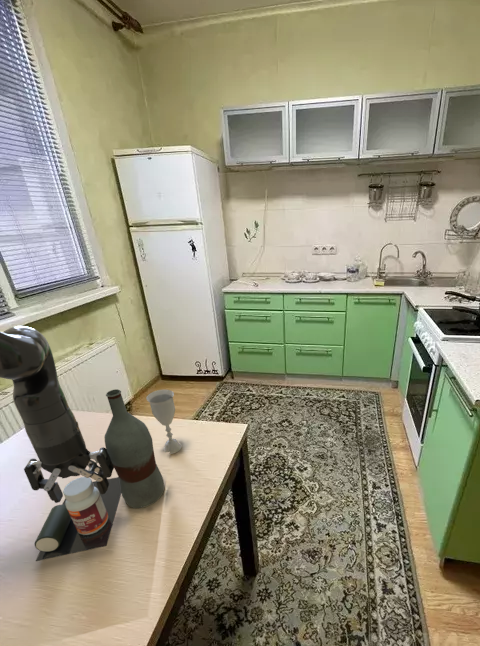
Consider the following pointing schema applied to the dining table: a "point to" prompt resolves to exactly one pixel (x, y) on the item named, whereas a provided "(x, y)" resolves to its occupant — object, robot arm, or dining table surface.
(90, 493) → the pill bottle
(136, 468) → the vodka
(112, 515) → the slate board
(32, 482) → the robot arm
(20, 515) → the dining table surface
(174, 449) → the chalice
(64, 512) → the sushi roll
